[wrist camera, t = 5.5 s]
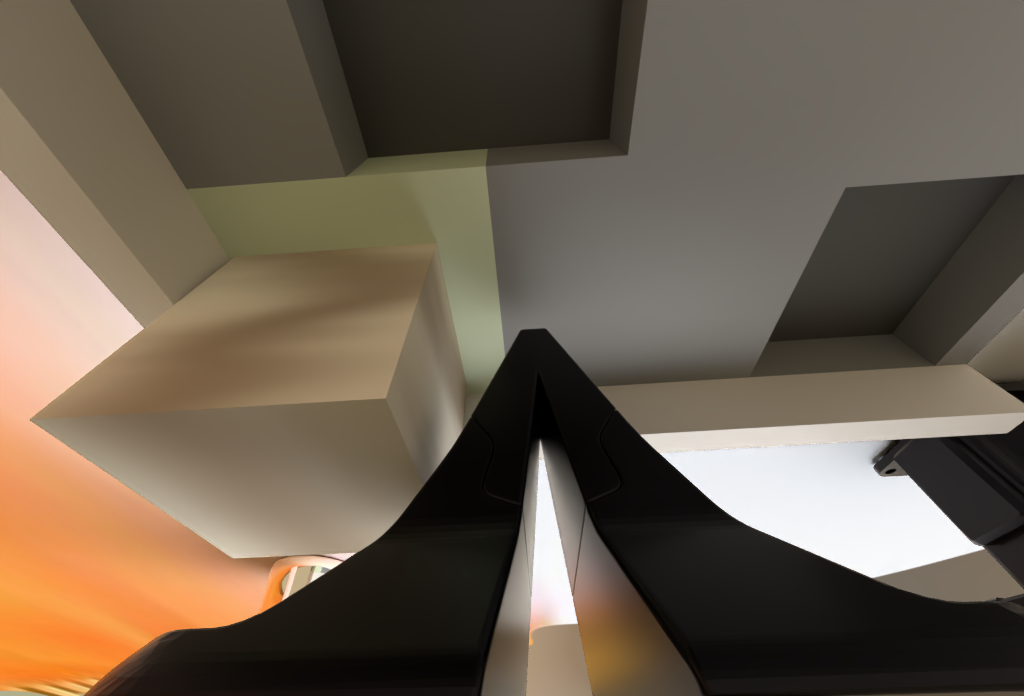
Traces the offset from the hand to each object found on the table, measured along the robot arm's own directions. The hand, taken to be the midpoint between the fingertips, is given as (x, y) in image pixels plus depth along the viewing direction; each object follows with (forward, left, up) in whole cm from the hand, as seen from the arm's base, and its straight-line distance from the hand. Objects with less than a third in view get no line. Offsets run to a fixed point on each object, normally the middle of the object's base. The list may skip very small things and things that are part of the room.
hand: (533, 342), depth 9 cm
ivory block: (+5, 0, -1) cm, 5 cm away
